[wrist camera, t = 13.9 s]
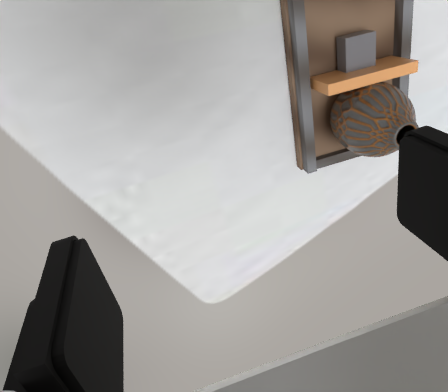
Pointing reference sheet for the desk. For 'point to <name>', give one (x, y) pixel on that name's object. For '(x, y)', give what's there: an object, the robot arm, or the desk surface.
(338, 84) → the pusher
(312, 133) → the tray
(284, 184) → the desk surface
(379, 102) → the vase
